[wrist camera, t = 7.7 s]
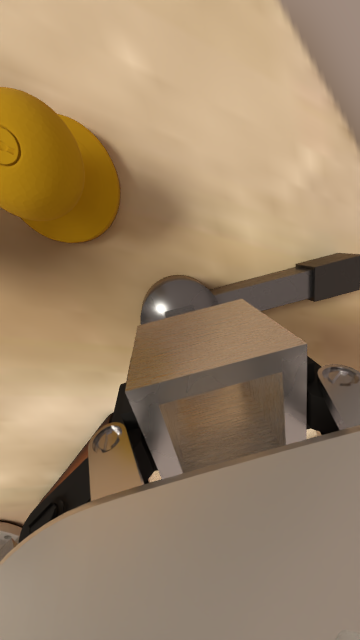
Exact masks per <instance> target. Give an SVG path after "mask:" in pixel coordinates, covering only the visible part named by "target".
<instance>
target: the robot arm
mask: <svg viewBox="0 0 360 640" xmlns="http://www.w3.org/2000/svg"><path fill="white" fill-rule="evenodd" d="M131 358H132V357H131ZM130 363H131V361H130ZM129 368H130V366H129ZM128 373H129V371H128ZM127 378H128V377H127ZM126 384H127V382H126V383H124V384H121V385H120V388H119V392H118V397H117V401H116V405H115V409H114V414H113V418H112V422H111V423H109V424H107V425H105V426H103V427H101V428H100V429H99V430H98V431H97V432H96V433H95V434H94V435H93V436H92V438H91V440H90V442H89V445H88V457H87V458H86V459H85V460H84V461H83V462H82V463H81V464H80V465H79V466H78V467H77V468H76V469H75V470H74V471H73V472H72V473H71V474H70V475H69V476H68V477H67V478H66V479H65V480H64V481H63V482H62V483H61V484H59V485H58V486H57V487H56V488H55V489H54V490H53V491H52V492H51V493H50V494H49V495H48V496H47V497H46V498H45V499H44V500H43V501H42V502H41V503H40V504H39V505H38V506H37V507H36V508H35V509H34V510H33V512H32V513H31V514H30V515H29V517H28V518H27V520H26V521H25V523H24V525H23V528H21V527H19V526H17V525H13V524H10V523H5V522H0V640H360V373H359V372H358V371H356V370H355V369H353V368H350V367H347V366H343V365H334V364H331V365H325V366H323V367H321V366H320V365H319V364H317V363H316V362H315V361H313V360H312V359H311V358H309V357H308V356H307V414H306V429H310V428H311V429H314V430H316V433H317V437H314V438H310V439H306V440H302V441H299V442H295V443H291V444H288V445H284V446H280V447H277V448H273V449H269V450H266V451H262V452H258V453H255V454H251V455H247V456H244V457H240V458H236V459H233V460H229V461H226V462H222V463H218V464H215V465H211V466H208V467H204V468H200V469H197V470H193V471H190V472H186V473H183V474H179V475H176V476H172V477H168V478H165V479H161V480H158V481H154V482H151V483H150V480H149V477H150V476H151V475H152V473H153V472H154V471H156V470H158V469H157V466H156V464H155V461H154V459H153V457H152V454H151V452H150V450H149V447H148V445H147V443H146V440H145V438H144V436H143V433H142V431H141V428H140V426H139V424H138V421H137V419H136V417H135V414H134V412H133V410H132V407H131V405H130V403H129V400H128V398H127V395H126V393H125V389H126Z"/></svg>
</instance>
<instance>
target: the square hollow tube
mask: <svg viewBox="0 0 360 640" xmlns="http://www.w3.org/2000/svg"><path fill="white" fill-rule="evenodd" d="M125 393H126V395H127V398H128V400H129V403H130V405H131V407H132V410H133V412H134V414H135V417H136V419H137V421H138V424H139V426H140V428H141V431H142V433H143V436H144V438H145V440H146V443H147V445H148V447H149V450H150V452H151V454H152V457H153V459H154V461H155V464H156V466H157V469H158V471H159V473H160V476H161V478H162V479H165V478H168V477H172V476H176V475H179V474H183V473H186V472H190V471H193V470H197V469H200V468H204V467H208V466H211V465H215V464H218V463H222V462H226V461H229V460H233V459H236V458H240V457H244V456H247V455H251V454H255V453H258V452H262V451H266V450H269V449H273V448H277V447H280V446H284V445H288V444H291V443H295V442H299V441H302V440H306V414H307V343H306V342H304V341H303V340H301V339H300V338H298V337H297V336H296V335H294V334H293V333H291V332H290V331H288V330H287V329H285V328H284V327H282V326H281V325H280V324H278V323H277V322H275V321H274V320H272V319H271V318H269V317H268V316H266V315H265V314H264V313H262V312H261V311H259V310H258V309H256V308H255V307H253V306H252V305H250V304H249V303H248V302H246V301H245V300H243V299H239V300H235V301H231V302H227V303H223V304H219V305H216V306H212V307H208V308H204V309H200V310H196V311H192V312H188V313H185V314H181V315H177V316H173V317H169V318H165V319H161V320H158V321H154V322H150V323H146V324H142V325H138V326H137V332H136V337H135V342H134V347H133V352H132V358H131V363H130V368H129V373H128V378H127V384H126V389H125Z"/></svg>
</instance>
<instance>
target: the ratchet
mask: <svg viewBox="0 0 360 640" xmlns="http://www.w3.org/2000/svg"><path fill="white" fill-rule="evenodd" d="M357 290H360V254H345V253H336V254H333V255H329V256H325V257H321V258H317V259H313V260H309V261H306V262H302V263H298V264H296V267H294V268H290V269H287V270H283V271H279V272H275V273H271V274H267V275H264V276H260V277H256V278H252V279H248V280H244V281H240V282H237V283H233V284H229V285H225V286H221V287H217V288H214V289H210V290H208V289H207V288H206V287H205V286H204V285H203V284H202V283H200V282H199V281H198V280H196V279H194V278H191V277H189V276H184V275H173V276H169V277H165V278H163V279H161V280H159V281H158V282H156V283H155V284H154V285H153V286H152V287H151V288H150V289H149V291H148V292H147V294H146V296H145V298H144V301H143V305H142V311H141V325H142V324H146V323H150V322H154V321H158V320H161V319H165V318H169V317H173V316H177V315H181V314H185V313H188V312H192V311H196V310H200V309H204V308H208V307H212V306H216V305H219V304H223V303H227V302H231V301H235V300H239V299H243V300H245V301H246V302H248V303H249V304H250V305H252V306H253V307H255V308H256V309H258V310H259V311H263V310H267V309H270V308H274V307H278V306H282V305H285V304H289V303H293V302H297V301H301V300H304V299H308V300H311V301H314V302H315V301H319V300H323V299H327V298H331V297H334V296H338V295H342V294H346V293H349V292H353V291H357Z"/></svg>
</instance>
